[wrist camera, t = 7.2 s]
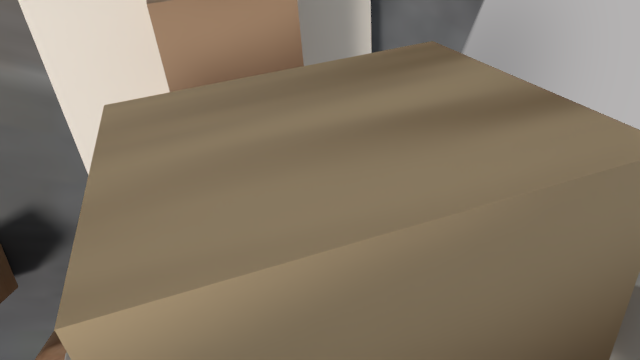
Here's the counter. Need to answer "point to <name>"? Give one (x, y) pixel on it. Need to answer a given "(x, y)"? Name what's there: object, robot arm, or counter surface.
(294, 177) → the oak brick
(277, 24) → the walnut base brick
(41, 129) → the counter surface
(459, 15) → the counter surface
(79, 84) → the baseplate
